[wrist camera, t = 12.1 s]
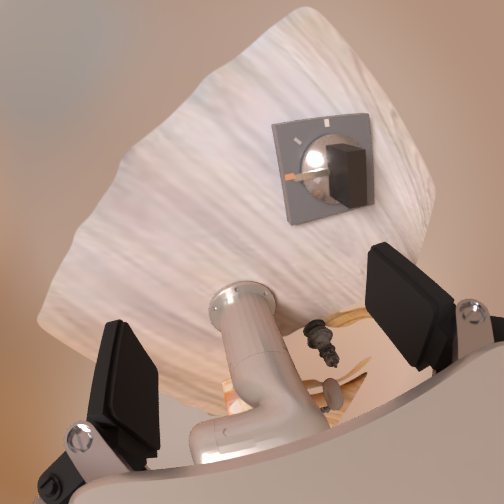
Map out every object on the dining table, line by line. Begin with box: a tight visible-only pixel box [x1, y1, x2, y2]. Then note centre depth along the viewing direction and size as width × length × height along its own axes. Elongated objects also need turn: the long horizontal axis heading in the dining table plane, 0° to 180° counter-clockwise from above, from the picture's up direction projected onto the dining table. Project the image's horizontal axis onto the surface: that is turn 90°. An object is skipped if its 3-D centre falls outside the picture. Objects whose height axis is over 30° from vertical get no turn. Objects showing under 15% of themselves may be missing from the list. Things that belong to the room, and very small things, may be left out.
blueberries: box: [321, 406, 330, 413], centre depth 82 cm, size 7×8×2 cm
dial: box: [294, 133, 367, 209], centre depth 38 cm, size 12×11×8 cm
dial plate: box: [271, 113, 374, 226], centre depth 42 cm, size 16×16×2 cm
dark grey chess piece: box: [303, 319, 339, 368], centre depth 55 cm, size 6×6×12 cm
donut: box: [323, 378, 343, 410], centre depth 68 cm, size 10×4×10 cm, turn 8°
